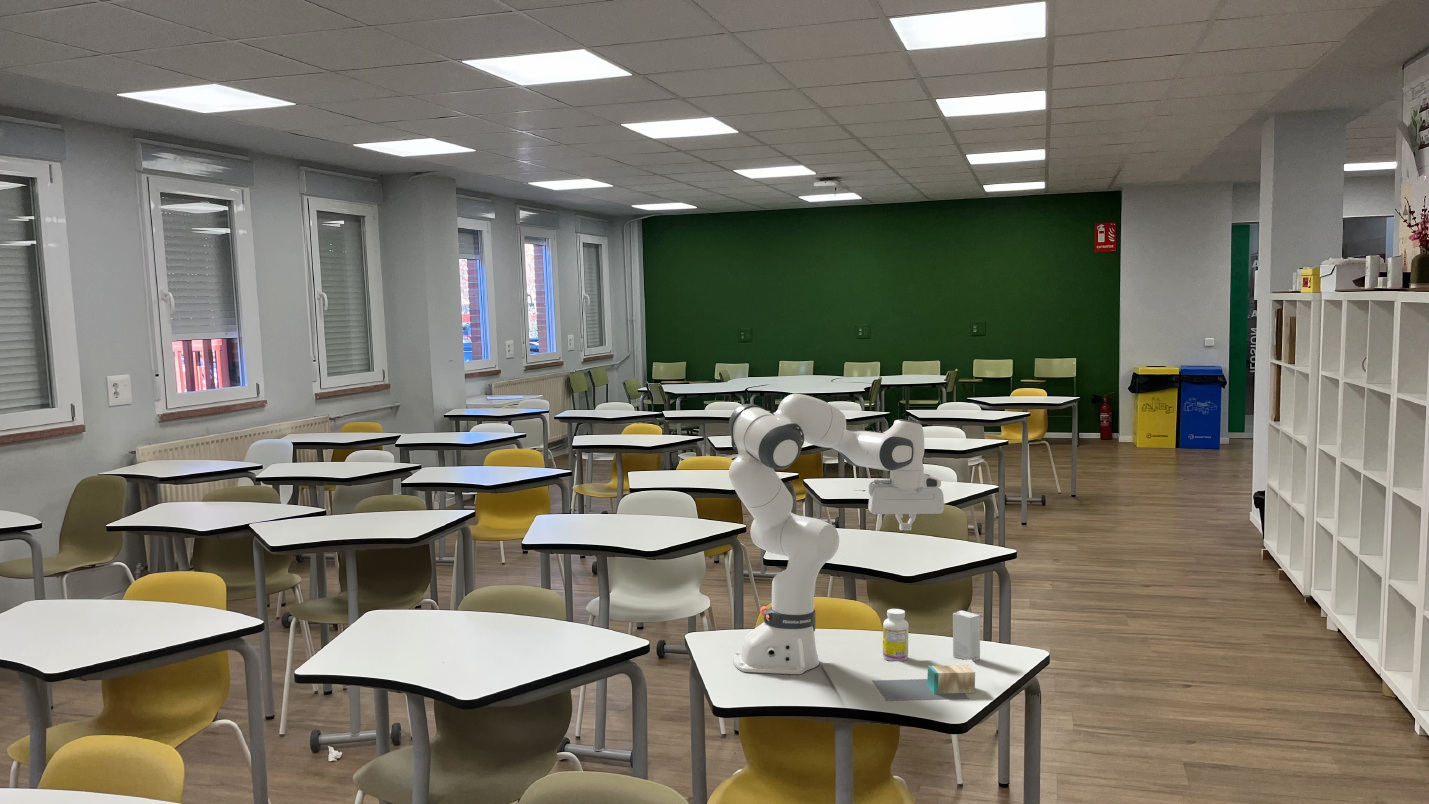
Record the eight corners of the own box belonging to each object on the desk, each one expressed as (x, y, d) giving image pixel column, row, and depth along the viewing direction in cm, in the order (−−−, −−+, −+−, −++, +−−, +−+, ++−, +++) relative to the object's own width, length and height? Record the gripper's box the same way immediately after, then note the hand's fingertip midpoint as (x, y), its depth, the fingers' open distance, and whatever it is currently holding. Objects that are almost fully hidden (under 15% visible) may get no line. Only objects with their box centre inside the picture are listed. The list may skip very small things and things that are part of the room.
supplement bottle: (889, 652, 262) (890, 605, 260) (911, 657, 258) (913, 610, 257) (878, 659, 256) (879, 611, 255) (901, 664, 252) (902, 616, 251)
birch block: (934, 673, 229) (975, 672, 230) (927, 665, 234) (967, 664, 235) (933, 693, 230) (974, 692, 231) (927, 685, 235) (967, 684, 236)
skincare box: (980, 659, 257) (982, 614, 256) (970, 663, 254) (971, 617, 253) (961, 653, 261) (962, 609, 261) (951, 656, 259) (952, 612, 258)
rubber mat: (886, 705, 225) (886, 700, 225) (872, 684, 238) (872, 680, 238) (969, 702, 227) (969, 698, 227) (950, 682, 240) (950, 678, 240)
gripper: (871, 481, 256) (870, 532, 257) (946, 481, 258) (945, 531, 259) (866, 477, 263) (864, 527, 264) (939, 477, 265) (937, 527, 266)
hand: (905, 529), depth 261 cm, fingers closed
